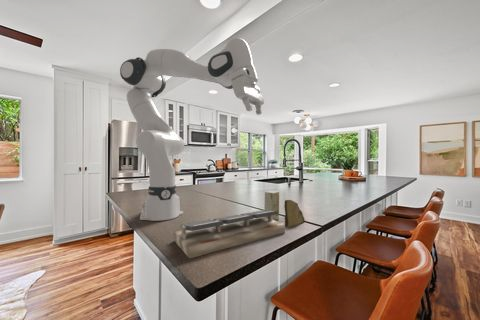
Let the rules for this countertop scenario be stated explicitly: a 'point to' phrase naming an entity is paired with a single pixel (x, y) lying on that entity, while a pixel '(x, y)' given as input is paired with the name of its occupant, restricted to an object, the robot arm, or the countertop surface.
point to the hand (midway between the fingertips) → (254, 112)
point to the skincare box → (272, 202)
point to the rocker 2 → (261, 213)
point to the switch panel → (226, 235)
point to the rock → (292, 213)
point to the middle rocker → (235, 218)
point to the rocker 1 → (202, 225)
